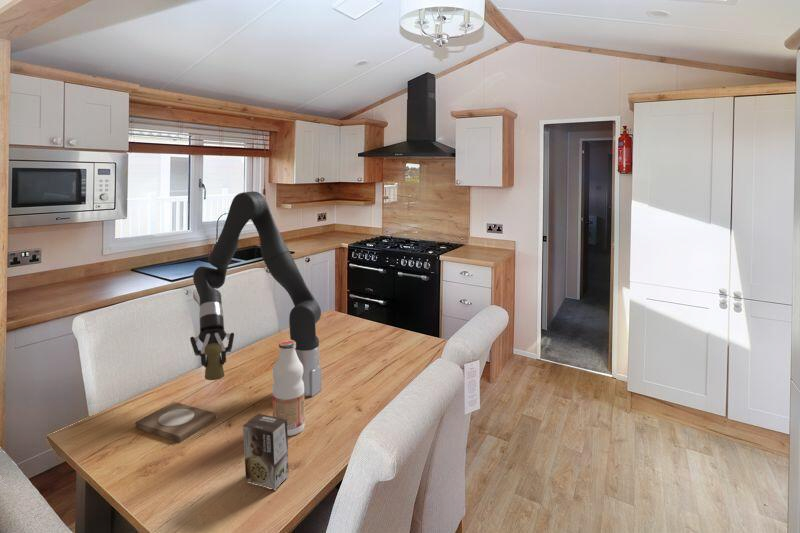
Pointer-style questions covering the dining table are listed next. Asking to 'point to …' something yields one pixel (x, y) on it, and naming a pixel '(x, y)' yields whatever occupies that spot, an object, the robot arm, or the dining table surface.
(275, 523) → the dining table surface
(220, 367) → the cork
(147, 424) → the walnut board
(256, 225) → the robot arm
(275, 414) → the fruit juice
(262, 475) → the coffee box
